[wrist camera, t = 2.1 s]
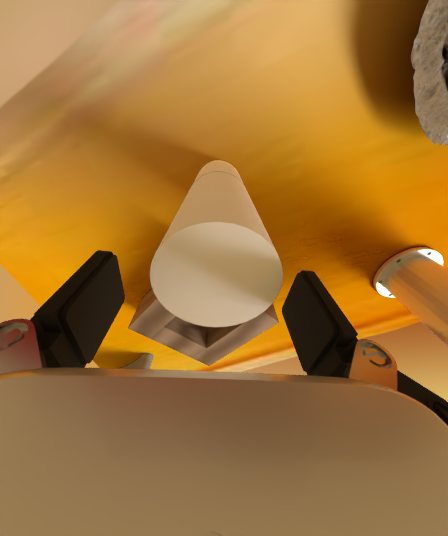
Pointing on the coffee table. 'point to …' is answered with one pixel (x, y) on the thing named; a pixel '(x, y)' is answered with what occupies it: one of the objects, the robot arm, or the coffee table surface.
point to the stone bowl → (432, 71)
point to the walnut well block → (196, 331)
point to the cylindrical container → (216, 254)
